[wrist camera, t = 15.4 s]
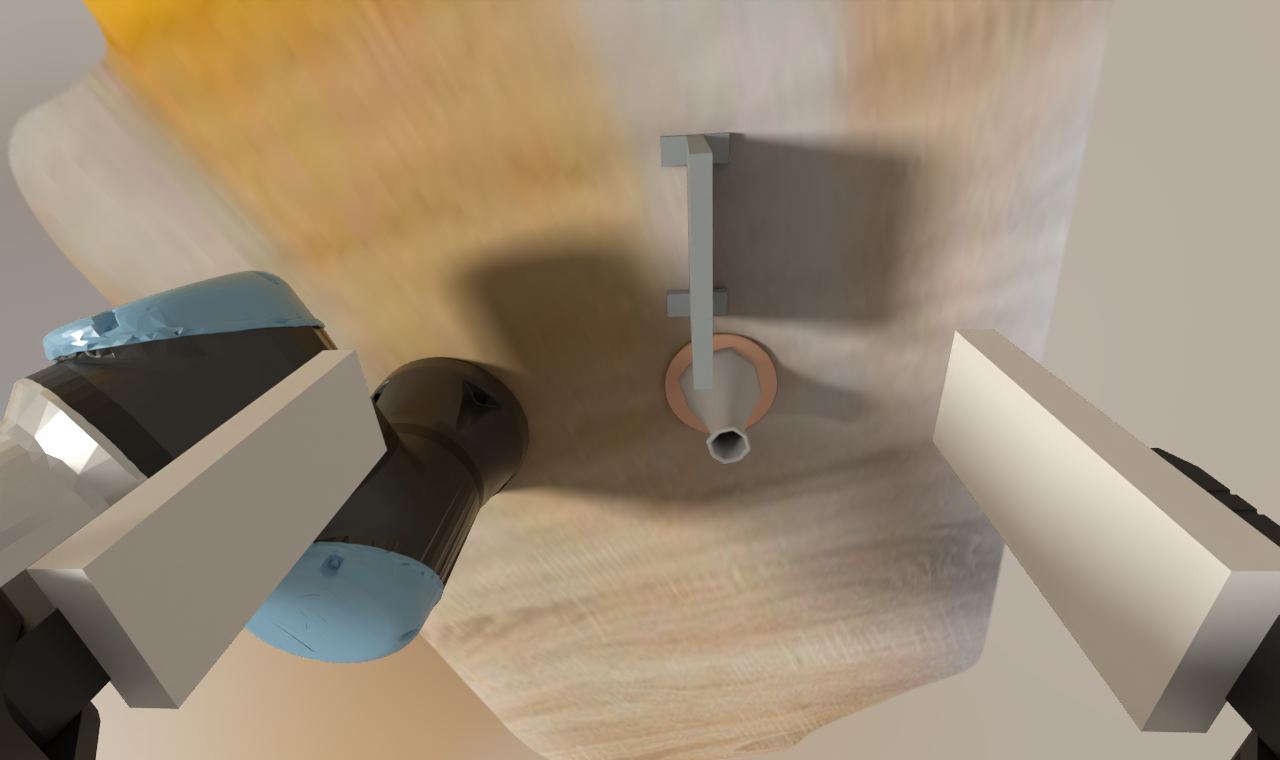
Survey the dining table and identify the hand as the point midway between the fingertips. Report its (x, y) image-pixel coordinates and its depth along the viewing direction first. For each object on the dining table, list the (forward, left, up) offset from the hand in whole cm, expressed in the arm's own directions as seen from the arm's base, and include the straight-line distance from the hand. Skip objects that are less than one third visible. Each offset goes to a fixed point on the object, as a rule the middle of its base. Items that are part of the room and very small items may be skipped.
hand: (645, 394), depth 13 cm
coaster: (+4, -18, -35) cm, 39 cm away
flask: (+4, -18, -34) cm, 39 cm away
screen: (+2, -4, -35) cm, 35 cm away
